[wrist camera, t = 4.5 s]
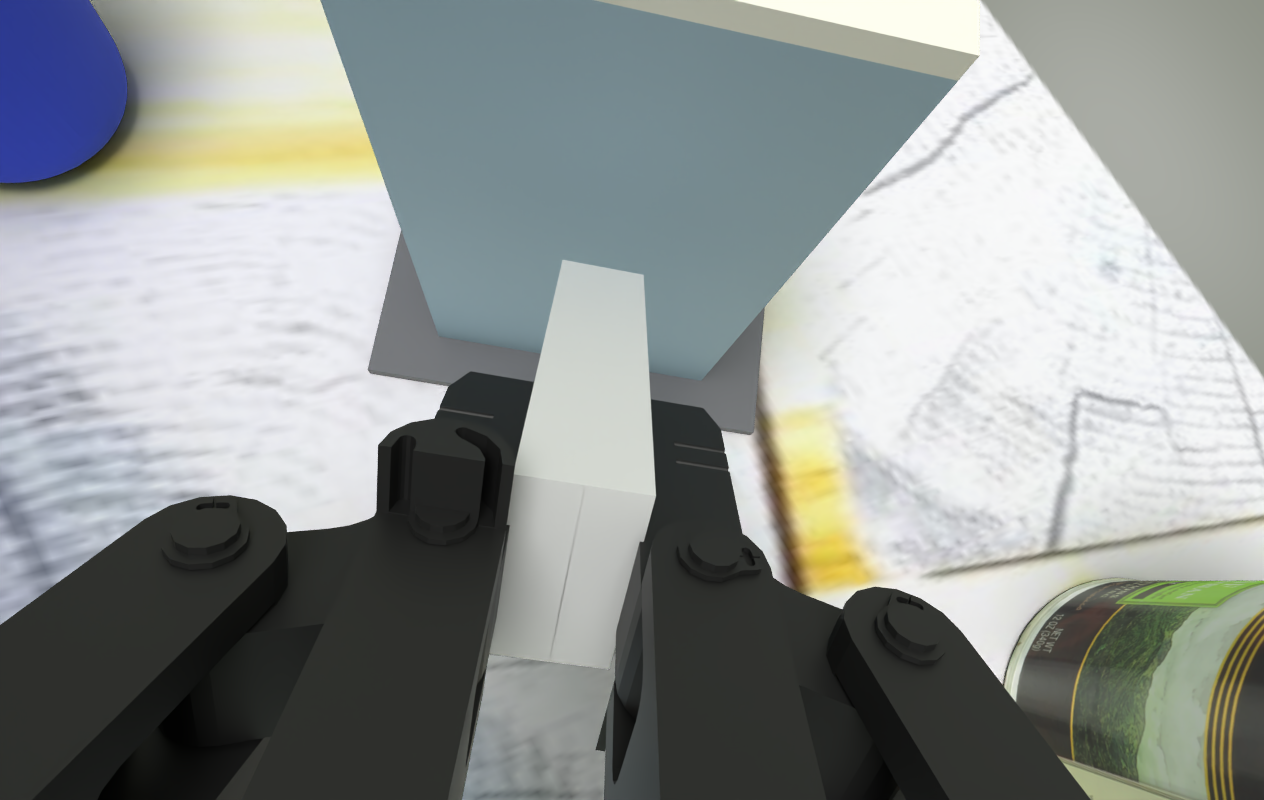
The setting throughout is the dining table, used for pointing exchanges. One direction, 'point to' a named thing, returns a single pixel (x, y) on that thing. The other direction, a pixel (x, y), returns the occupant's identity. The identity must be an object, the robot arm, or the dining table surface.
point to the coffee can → (1149, 687)
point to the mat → (427, 357)
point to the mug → (55, 87)
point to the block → (635, 145)
